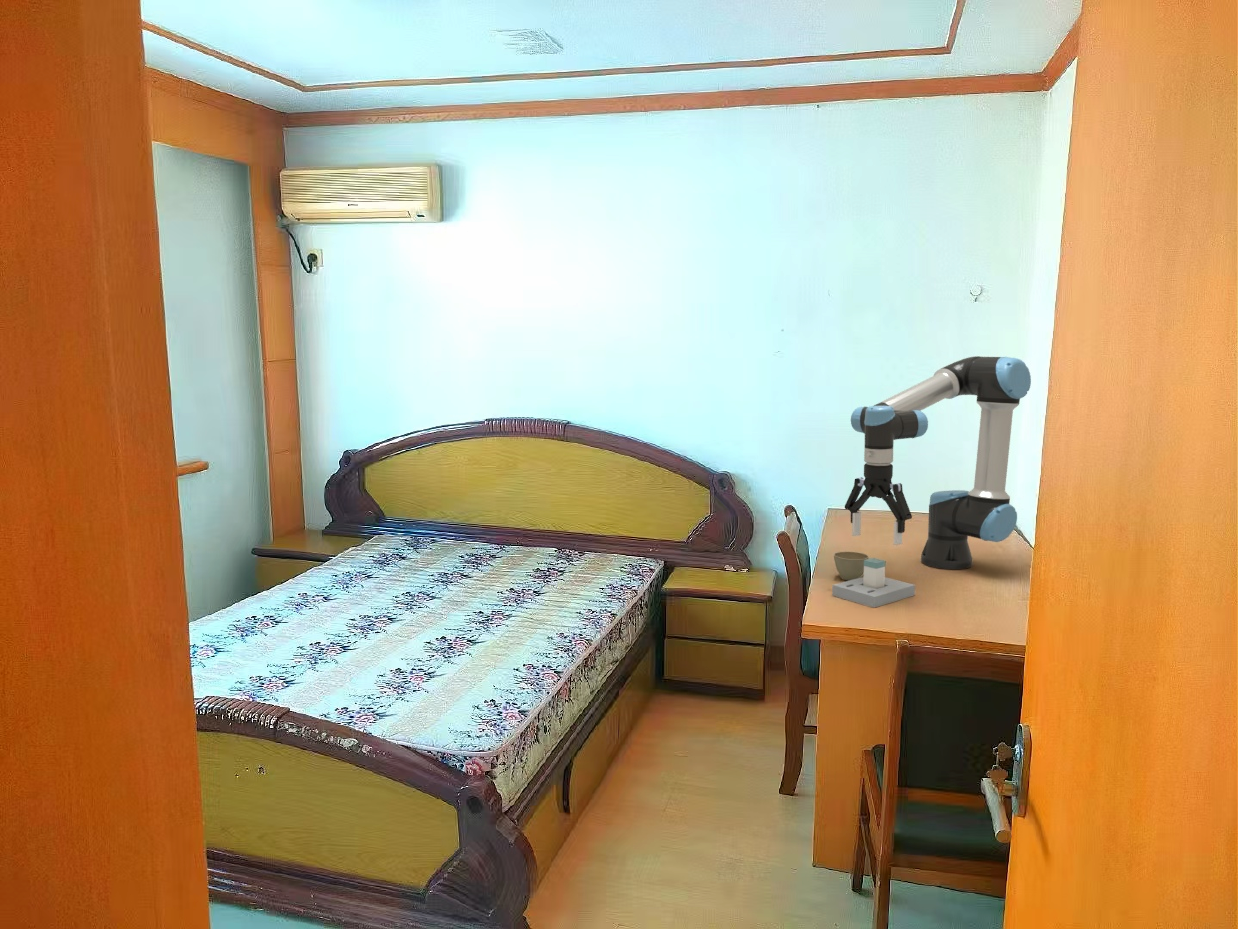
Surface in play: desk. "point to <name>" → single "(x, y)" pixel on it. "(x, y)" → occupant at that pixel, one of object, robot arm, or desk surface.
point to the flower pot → (850, 564)
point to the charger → (874, 573)
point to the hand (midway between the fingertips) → (876, 539)
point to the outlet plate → (873, 592)
